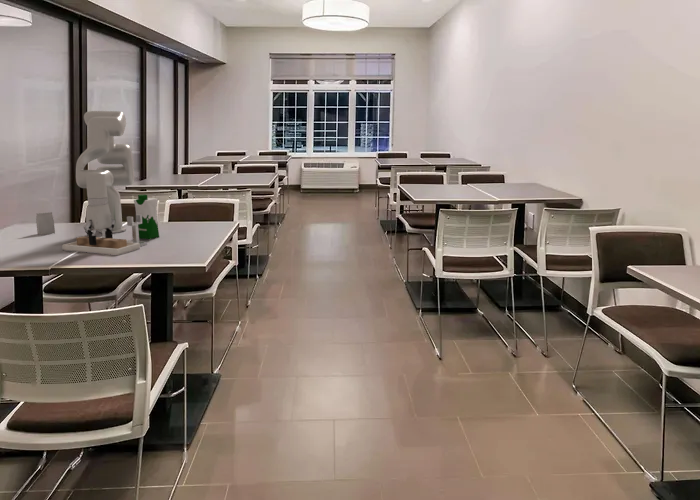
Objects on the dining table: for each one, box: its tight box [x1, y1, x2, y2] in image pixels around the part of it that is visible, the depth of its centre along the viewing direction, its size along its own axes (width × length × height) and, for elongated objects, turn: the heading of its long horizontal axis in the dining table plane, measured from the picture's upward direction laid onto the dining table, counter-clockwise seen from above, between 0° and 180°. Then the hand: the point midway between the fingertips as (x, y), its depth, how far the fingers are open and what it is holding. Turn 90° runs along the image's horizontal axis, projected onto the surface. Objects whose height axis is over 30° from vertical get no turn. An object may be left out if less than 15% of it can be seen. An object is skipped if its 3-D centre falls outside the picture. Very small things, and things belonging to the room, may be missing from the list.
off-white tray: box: [62, 240, 141, 256], centre depth 251 cm, size 28×14×2 cm, turn 72°
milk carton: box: [133, 194, 160, 240], centre depth 277 cm, size 9×9×20 cm
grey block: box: [35, 211, 56, 236], centre depth 287 cm, size 4×7×10 cm, turn 132°
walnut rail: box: [75, 236, 127, 249], centre depth 251 cm, size 22×4×4 cm, turn 72°
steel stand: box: [101, 213, 148, 248], centre depth 261 cm, size 22×7×13 cm, turn 72°
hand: (101, 242), depth 251 cm, fingers open, 9 cm apart
